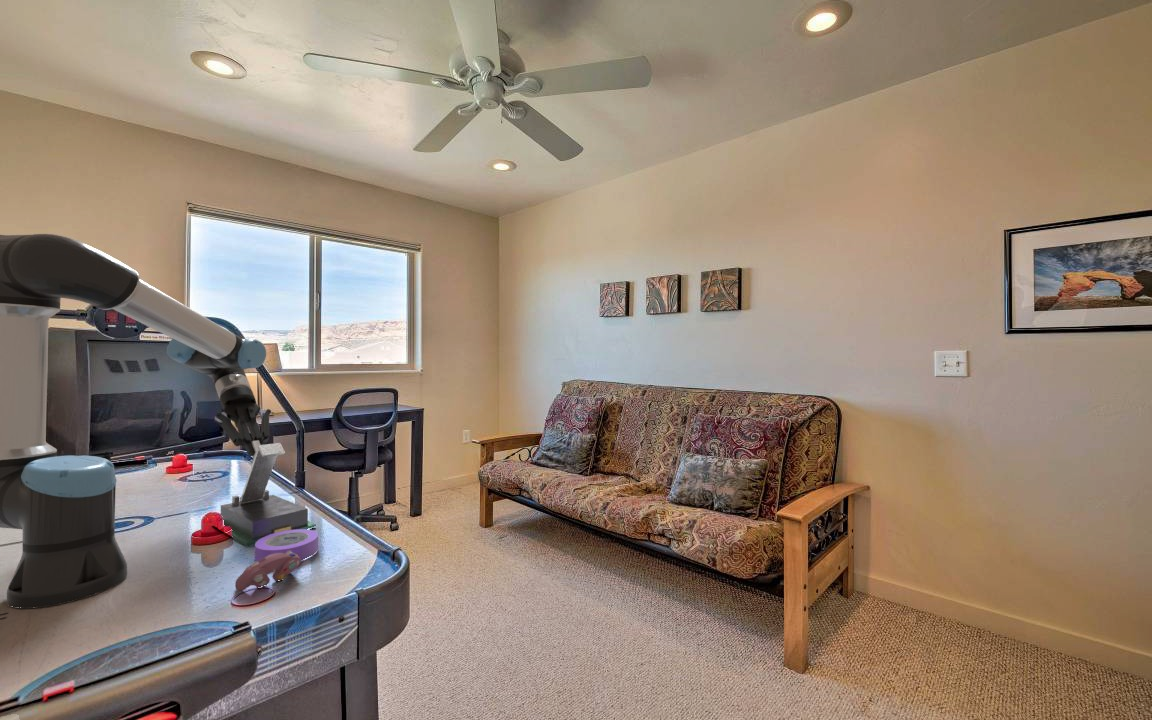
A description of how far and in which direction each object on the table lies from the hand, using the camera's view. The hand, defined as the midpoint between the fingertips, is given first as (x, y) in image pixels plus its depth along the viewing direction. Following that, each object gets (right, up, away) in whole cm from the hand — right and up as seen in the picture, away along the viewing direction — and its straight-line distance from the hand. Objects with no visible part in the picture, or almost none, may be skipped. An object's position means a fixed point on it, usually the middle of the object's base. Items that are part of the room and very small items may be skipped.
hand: (261, 464), depth 122 cm
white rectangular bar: (+1, -4, -1) cm, 5 cm away
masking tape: (+17, -16, -18) cm, 30 cm away
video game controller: (+22, -16, -31) cm, 41 cm away
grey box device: (+1, -16, -1) cm, 16 cm away
